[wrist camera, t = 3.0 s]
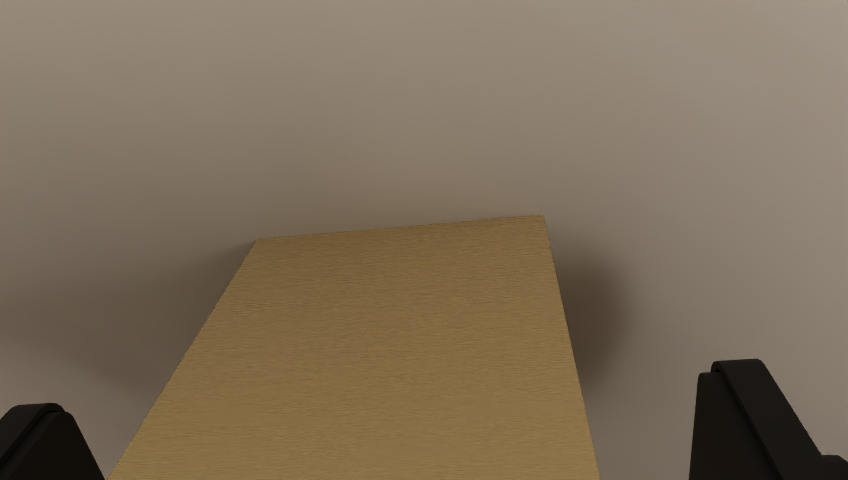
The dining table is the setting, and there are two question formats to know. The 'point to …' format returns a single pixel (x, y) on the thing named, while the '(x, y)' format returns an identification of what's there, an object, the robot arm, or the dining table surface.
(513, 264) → the tan wooden cube
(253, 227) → the dining table surface
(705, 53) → the dining table surface
